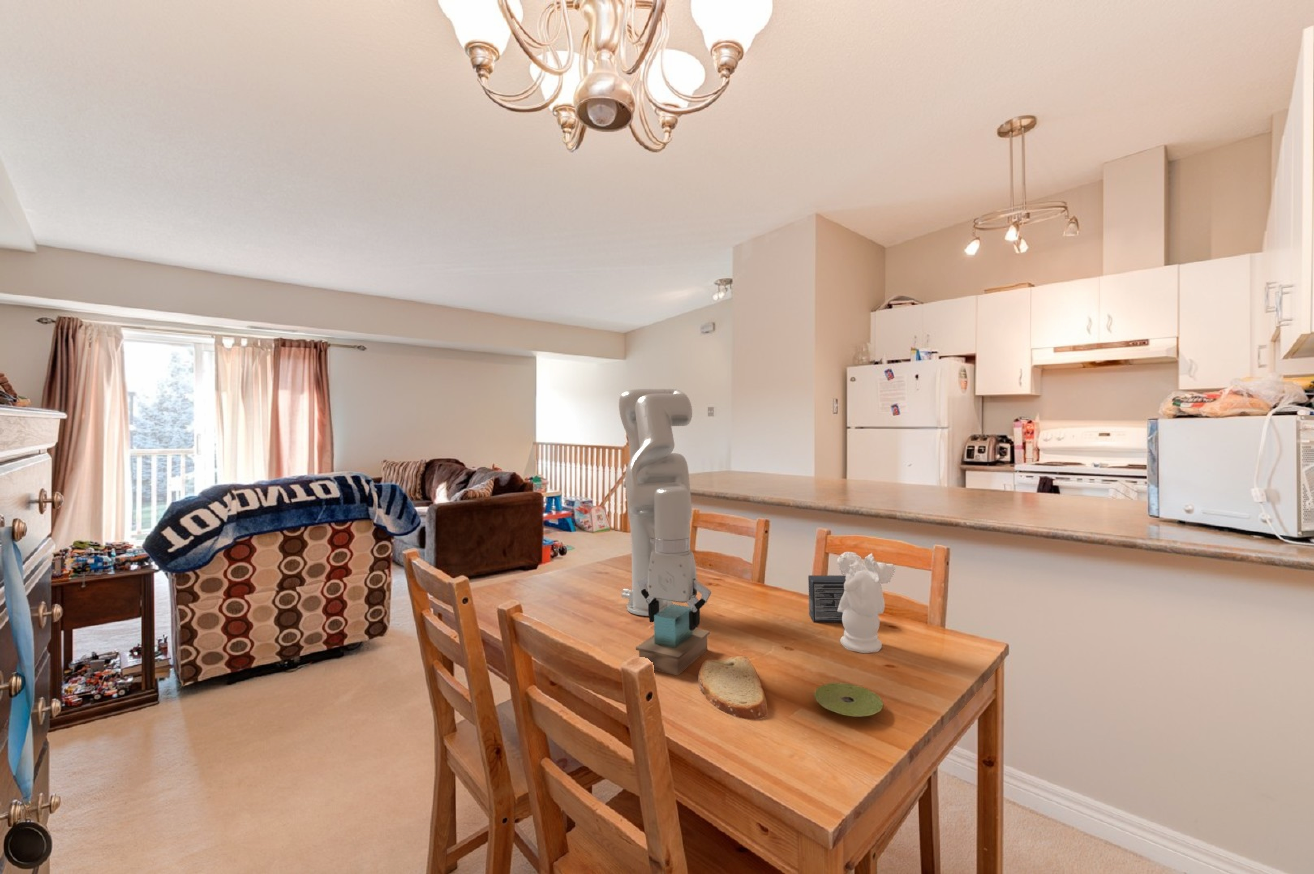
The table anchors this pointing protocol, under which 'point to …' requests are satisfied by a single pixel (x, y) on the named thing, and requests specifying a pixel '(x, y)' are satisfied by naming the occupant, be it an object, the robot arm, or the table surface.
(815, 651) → the table surface
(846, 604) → the cherub figurine
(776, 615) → the table surface
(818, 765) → the table surface
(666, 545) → the robot arm
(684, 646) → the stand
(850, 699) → the green disc
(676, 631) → the block
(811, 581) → the small box
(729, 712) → the slice of bread
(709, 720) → the table surface
